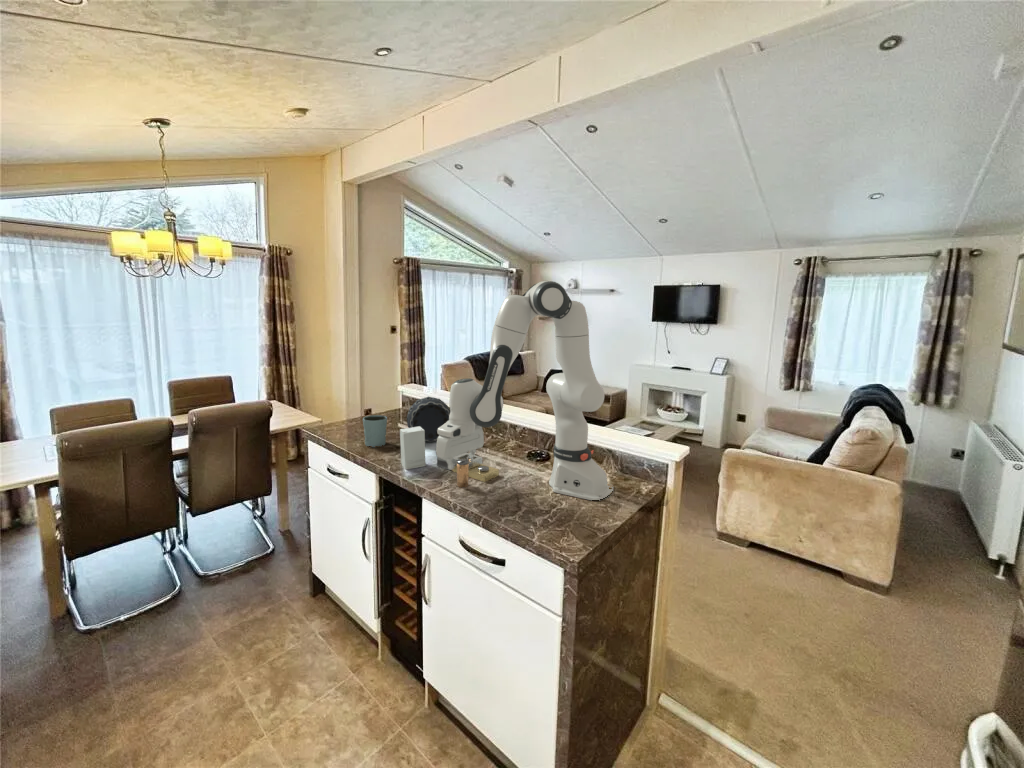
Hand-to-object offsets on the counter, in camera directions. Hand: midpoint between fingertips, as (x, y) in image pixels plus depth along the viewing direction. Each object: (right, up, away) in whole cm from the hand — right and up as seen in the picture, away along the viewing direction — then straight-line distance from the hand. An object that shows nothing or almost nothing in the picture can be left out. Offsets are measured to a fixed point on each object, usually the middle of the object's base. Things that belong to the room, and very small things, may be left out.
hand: (460, 465), depth 151 cm
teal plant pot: (-43, +1, +43) cm, 61 cm away
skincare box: (-21, -4, +18) cm, 28 cm away
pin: (0, -7, +2) cm, 8 cm away
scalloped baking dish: (-20, +2, +50) cm, 54 cm away
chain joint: (+1, -5, +15) cm, 16 cm away
